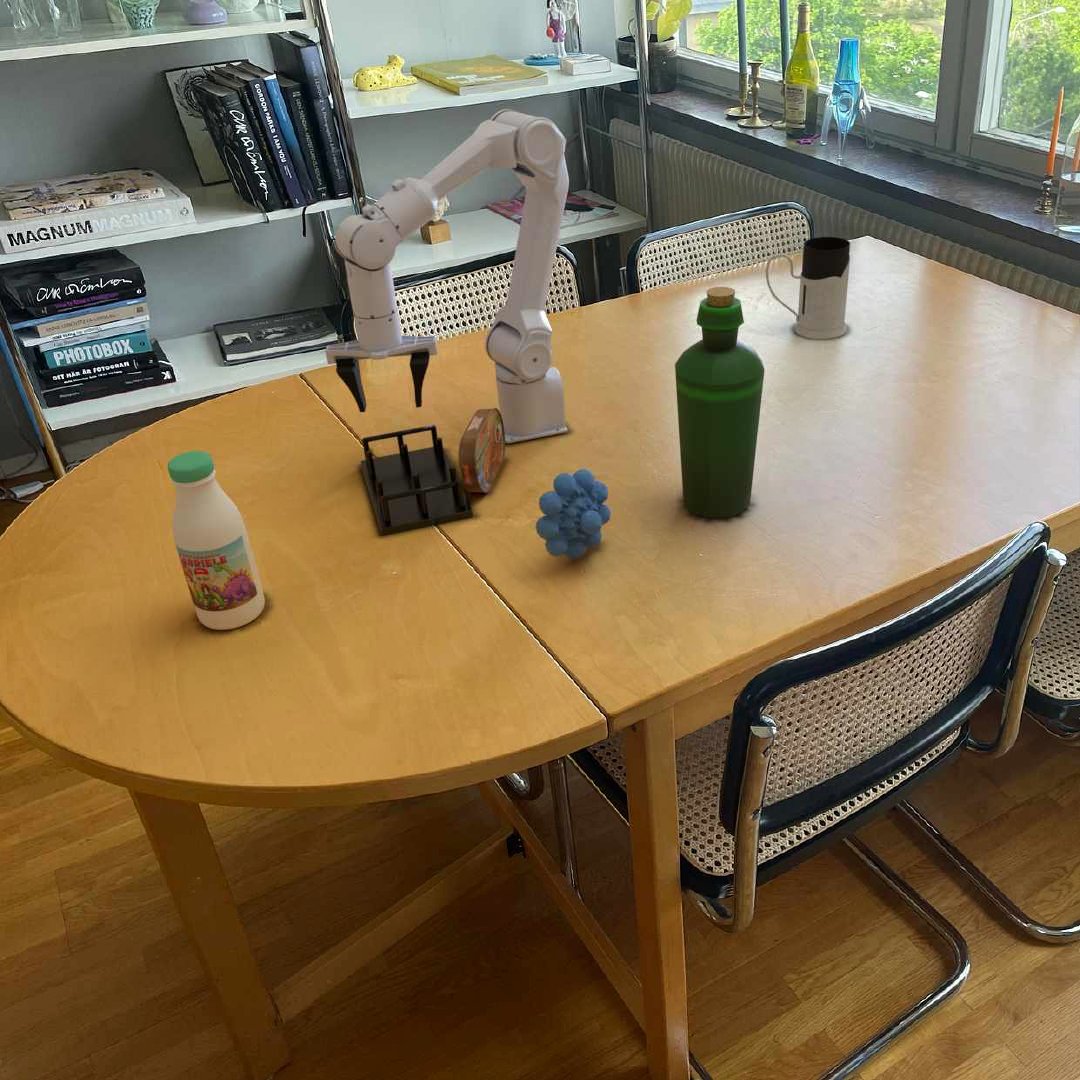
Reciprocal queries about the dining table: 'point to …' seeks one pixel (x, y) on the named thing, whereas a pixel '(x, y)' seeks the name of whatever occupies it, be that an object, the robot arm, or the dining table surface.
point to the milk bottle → (213, 546)
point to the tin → (482, 450)
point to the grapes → (573, 514)
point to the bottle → (718, 410)
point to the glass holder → (821, 287)
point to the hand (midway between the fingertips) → (391, 406)
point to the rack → (413, 485)
